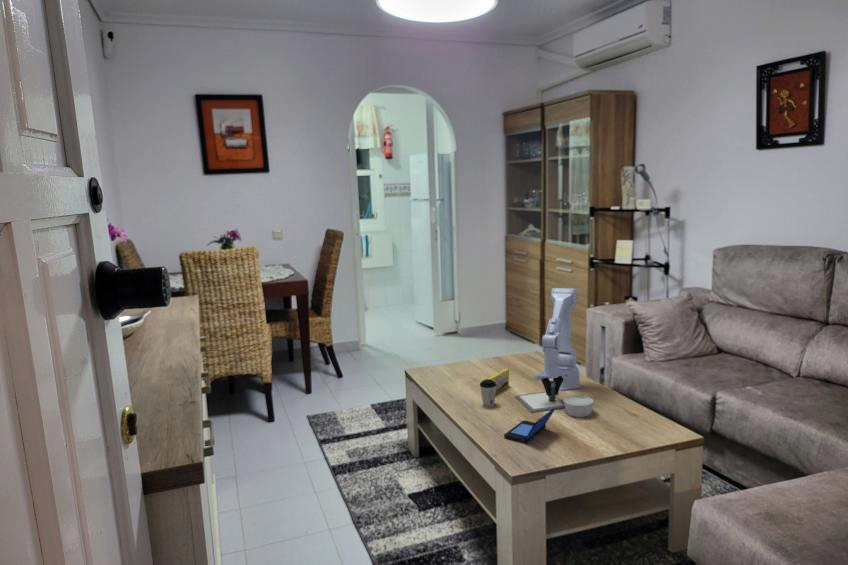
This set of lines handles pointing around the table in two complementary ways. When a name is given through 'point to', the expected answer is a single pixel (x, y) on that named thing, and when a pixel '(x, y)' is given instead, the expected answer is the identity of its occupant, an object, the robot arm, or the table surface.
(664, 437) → the table surface
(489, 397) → the coffee cup
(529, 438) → the handheld game console
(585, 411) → the ramekin
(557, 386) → the robot arm
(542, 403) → the sketch board
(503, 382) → the candy box
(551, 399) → the marker
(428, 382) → the table surface
